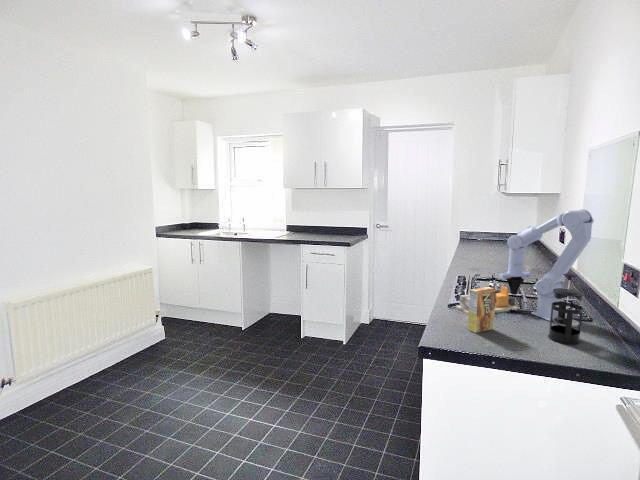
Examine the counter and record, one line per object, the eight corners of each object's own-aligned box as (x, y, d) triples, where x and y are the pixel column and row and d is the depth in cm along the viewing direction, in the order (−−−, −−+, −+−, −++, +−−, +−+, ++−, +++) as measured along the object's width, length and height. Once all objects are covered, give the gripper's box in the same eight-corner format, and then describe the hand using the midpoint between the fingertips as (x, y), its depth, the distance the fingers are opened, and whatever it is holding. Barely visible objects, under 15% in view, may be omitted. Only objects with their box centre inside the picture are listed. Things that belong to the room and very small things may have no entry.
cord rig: (519, 309, 168) (520, 296, 167) (470, 315, 161) (471, 301, 160) (502, 302, 177) (503, 289, 176) (455, 307, 171) (456, 294, 170)
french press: (584, 347, 131) (591, 279, 128) (551, 343, 134) (557, 276, 131) (574, 334, 142) (580, 270, 138) (544, 330, 145) (550, 269, 142)
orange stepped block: (507, 305, 169) (509, 288, 168) (498, 306, 168) (499, 289, 167) (500, 302, 173) (501, 285, 172) (490, 303, 172) (492, 286, 171)
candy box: (484, 325, 150) (487, 286, 148) (493, 329, 146) (496, 289, 144) (467, 329, 146) (469, 289, 144) (476, 333, 143) (478, 292, 140)
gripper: (522, 260, 176) (520, 290, 178) (495, 262, 172) (493, 292, 174) (535, 263, 169) (532, 294, 171) (506, 265, 165) (504, 297, 167)
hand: (513, 294), depth 172 cm, fingers closed
